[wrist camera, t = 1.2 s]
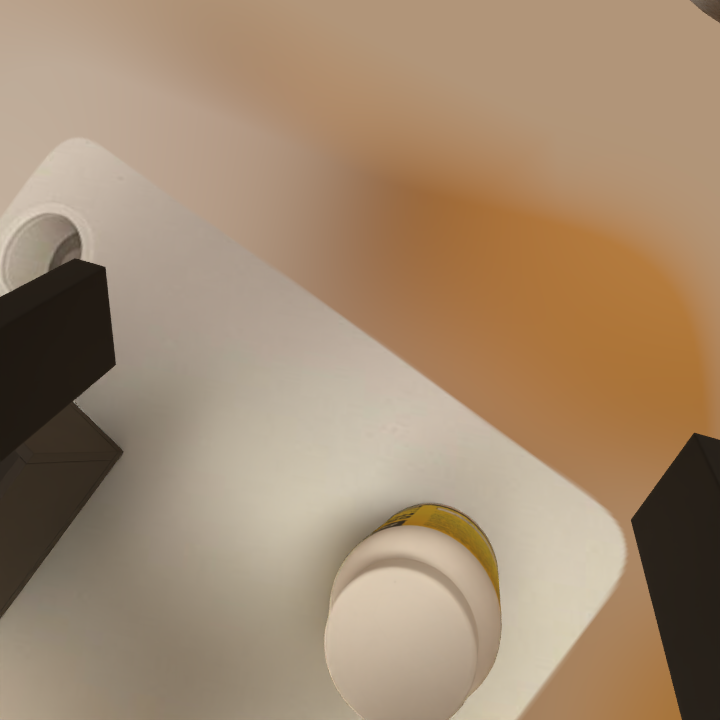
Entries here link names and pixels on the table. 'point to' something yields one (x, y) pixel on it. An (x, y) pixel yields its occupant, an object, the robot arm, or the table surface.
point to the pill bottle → (414, 616)
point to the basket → (47, 492)
